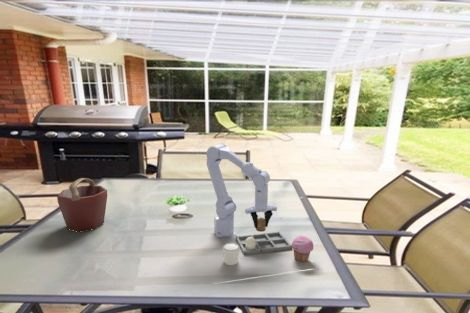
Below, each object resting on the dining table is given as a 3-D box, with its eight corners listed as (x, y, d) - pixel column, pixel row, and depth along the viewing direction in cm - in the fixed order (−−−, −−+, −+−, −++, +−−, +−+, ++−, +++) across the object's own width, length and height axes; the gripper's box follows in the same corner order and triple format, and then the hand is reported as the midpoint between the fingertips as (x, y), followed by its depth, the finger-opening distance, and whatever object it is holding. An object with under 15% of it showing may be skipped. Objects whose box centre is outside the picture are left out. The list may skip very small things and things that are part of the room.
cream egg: (247, 252, 134) (247, 240, 133) (244, 247, 138) (244, 235, 137) (256, 251, 135) (256, 238, 134) (253, 246, 139) (253, 234, 138)
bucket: (88, 237, 149) (83, 187, 144) (48, 233, 153) (42, 185, 148) (117, 218, 172) (113, 174, 167) (81, 215, 177) (77, 172, 172)
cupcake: (297, 252, 135) (298, 230, 133) (316, 258, 130) (317, 236, 128) (287, 260, 128) (288, 238, 126) (306, 267, 123) (307, 244, 121)
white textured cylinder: (230, 256, 132) (230, 241, 130) (242, 261, 127) (243, 246, 126) (219, 263, 126) (219, 247, 125) (232, 269, 122) (232, 252, 121)
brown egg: (257, 232, 141) (257, 220, 140) (254, 228, 145) (255, 216, 144) (266, 231, 142) (267, 219, 141) (263, 227, 146) (264, 215, 145)
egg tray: (244, 256, 132) (244, 251, 132) (235, 240, 146) (235, 236, 146) (291, 249, 137) (292, 245, 137) (279, 235, 151) (279, 231, 151)
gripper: (248, 202, 135) (248, 231, 138) (279, 200, 139) (278, 228, 141) (244, 197, 142) (243, 225, 145) (273, 195, 145) (273, 222, 148)
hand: (260, 226), depth 143 cm, fingers closed on brown egg, 4 cm apart
